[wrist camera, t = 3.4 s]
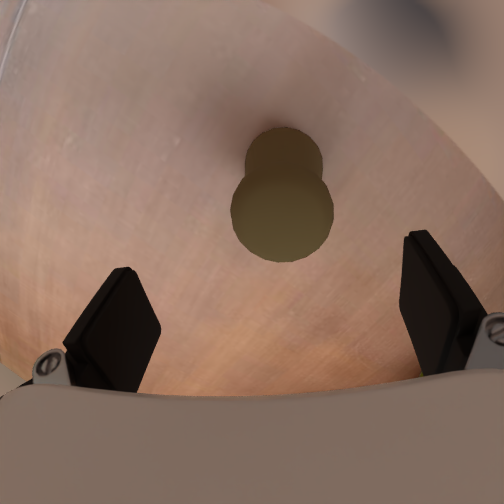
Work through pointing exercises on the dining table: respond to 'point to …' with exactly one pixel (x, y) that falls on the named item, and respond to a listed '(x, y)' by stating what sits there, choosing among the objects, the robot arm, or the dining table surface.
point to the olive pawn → (282, 197)
